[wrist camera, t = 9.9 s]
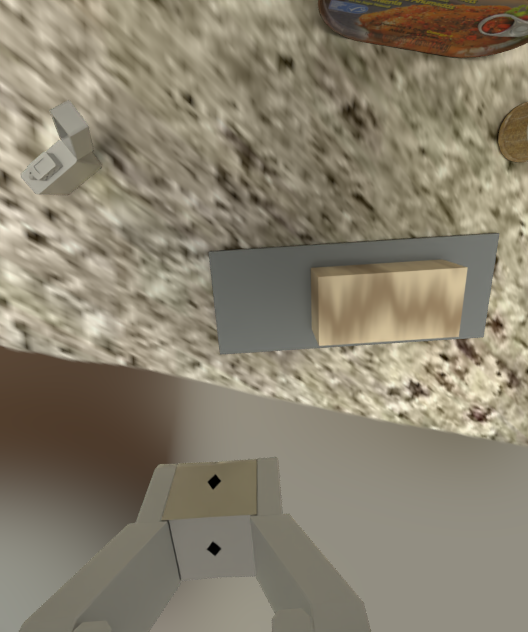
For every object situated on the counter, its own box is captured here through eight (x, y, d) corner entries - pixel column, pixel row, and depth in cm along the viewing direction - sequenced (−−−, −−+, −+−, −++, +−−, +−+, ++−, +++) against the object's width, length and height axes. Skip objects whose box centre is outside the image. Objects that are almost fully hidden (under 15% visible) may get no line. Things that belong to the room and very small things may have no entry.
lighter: (67, 196, 29) (2, 195, 22) (52, 178, 29) (-20, 170, 21) (129, 143, 28) (84, 123, 21) (115, 124, 28) (63, 95, 20)
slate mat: (209, 251, 31) (208, 252, 31) (495, 233, 31) (499, 233, 31) (220, 352, 34) (220, 354, 34) (480, 335, 34) (483, 337, 34)
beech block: (318, 277, 28) (468, 267, 28) (310, 267, 31) (442, 259, 31) (319, 345, 29) (459, 336, 30) (311, 329, 33) (436, 321, 33)
